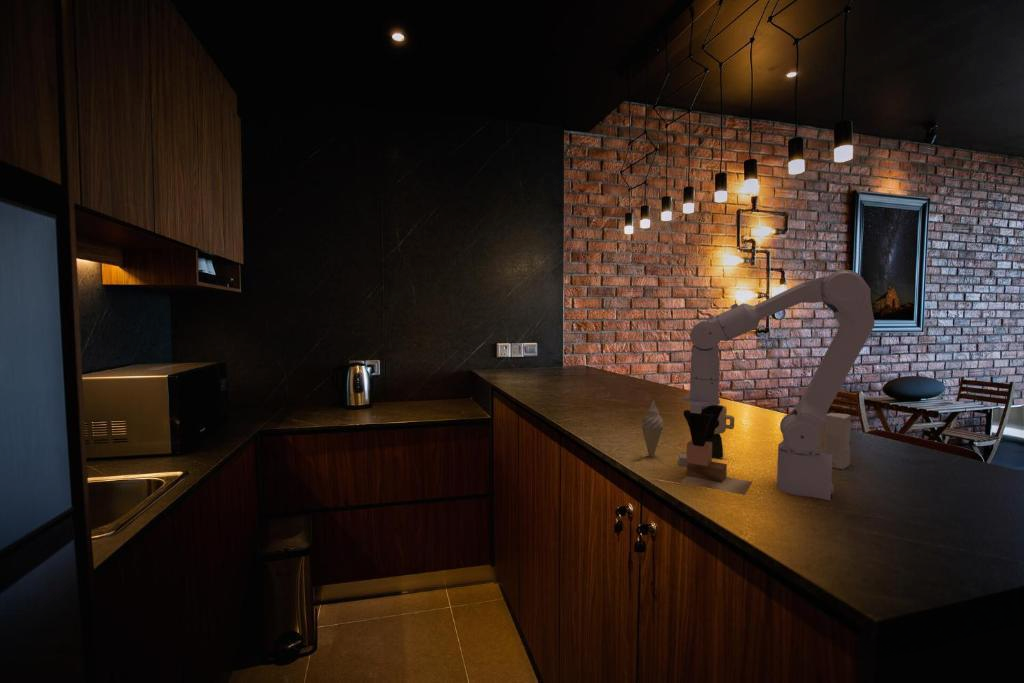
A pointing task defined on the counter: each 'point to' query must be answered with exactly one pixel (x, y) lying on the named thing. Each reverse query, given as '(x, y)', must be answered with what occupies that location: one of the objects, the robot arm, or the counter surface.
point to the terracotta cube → (699, 454)
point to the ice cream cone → (652, 428)
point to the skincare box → (837, 439)
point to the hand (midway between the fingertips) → (703, 441)
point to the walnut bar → (708, 471)
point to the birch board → (721, 484)
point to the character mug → (720, 428)
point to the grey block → (682, 459)
